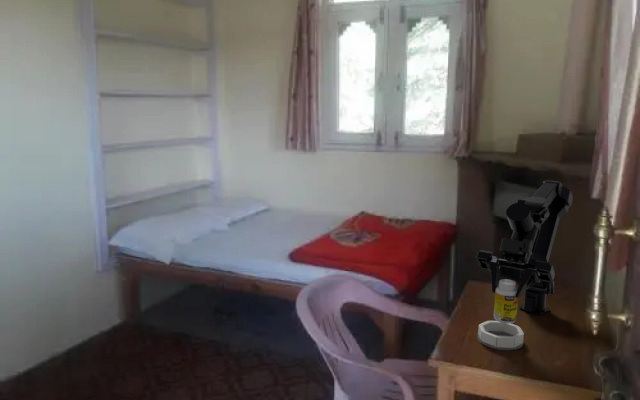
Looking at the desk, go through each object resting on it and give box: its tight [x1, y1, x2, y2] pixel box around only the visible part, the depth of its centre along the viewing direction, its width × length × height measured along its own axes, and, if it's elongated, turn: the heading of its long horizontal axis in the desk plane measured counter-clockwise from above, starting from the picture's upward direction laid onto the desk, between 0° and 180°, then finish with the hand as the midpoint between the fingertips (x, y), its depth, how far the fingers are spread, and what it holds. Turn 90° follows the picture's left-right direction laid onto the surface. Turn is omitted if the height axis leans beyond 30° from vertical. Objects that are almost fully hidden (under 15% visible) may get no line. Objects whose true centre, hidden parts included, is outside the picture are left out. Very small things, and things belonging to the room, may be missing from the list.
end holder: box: [477, 320, 525, 352], centre depth 137 cm, size 11×11×3 cm
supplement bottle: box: [493, 278, 519, 324], centre depth 134 cm, size 6×6×10 cm
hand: (504, 294), depth 133 cm, fingers closed on supplement bottle, 5 cm apart
